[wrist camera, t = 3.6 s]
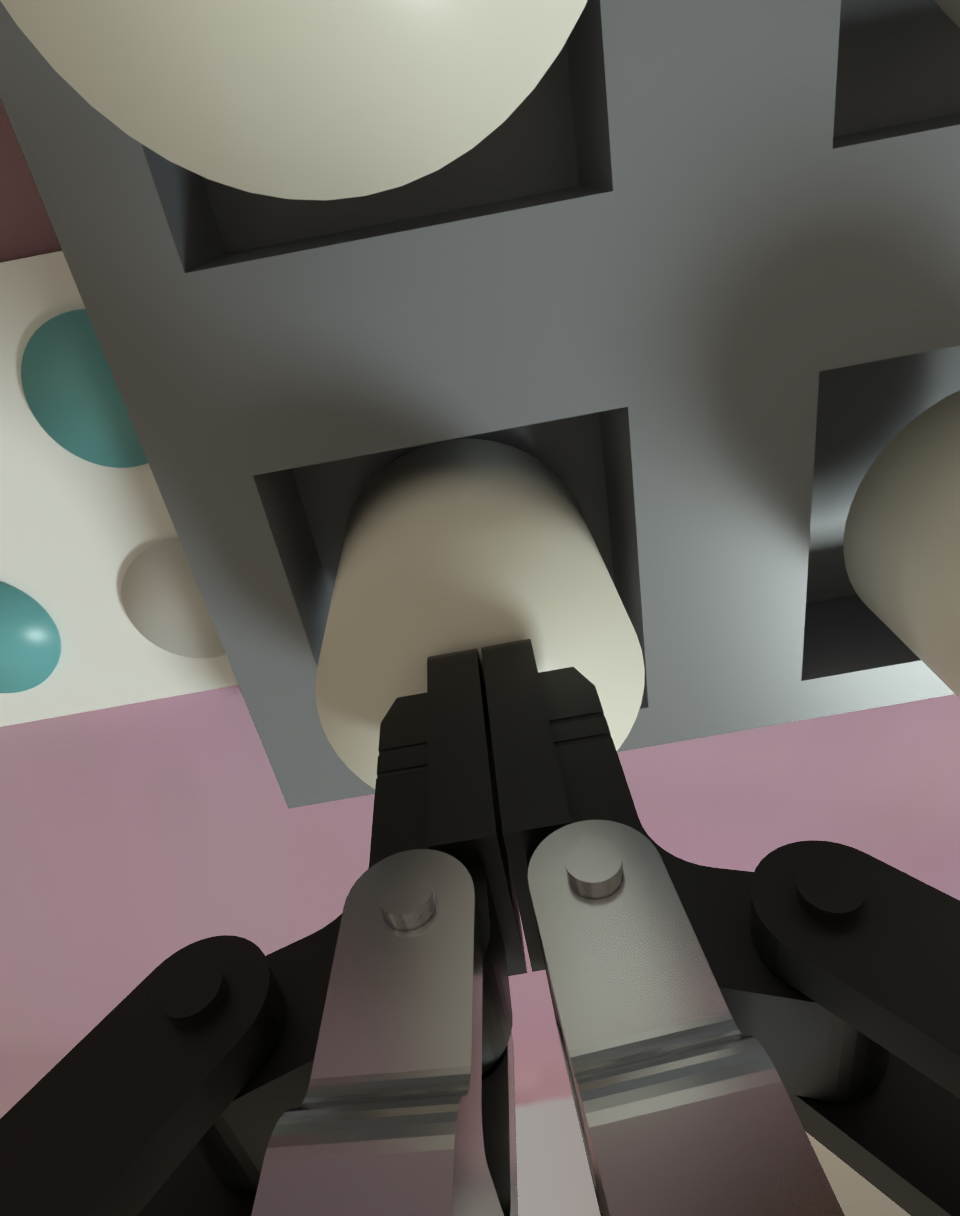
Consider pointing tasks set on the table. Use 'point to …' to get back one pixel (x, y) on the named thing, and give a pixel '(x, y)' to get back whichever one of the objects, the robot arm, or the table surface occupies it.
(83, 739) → the table surface
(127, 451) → the card
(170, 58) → the button
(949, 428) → the button
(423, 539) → the button
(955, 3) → the button
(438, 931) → the robot arm
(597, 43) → the board
